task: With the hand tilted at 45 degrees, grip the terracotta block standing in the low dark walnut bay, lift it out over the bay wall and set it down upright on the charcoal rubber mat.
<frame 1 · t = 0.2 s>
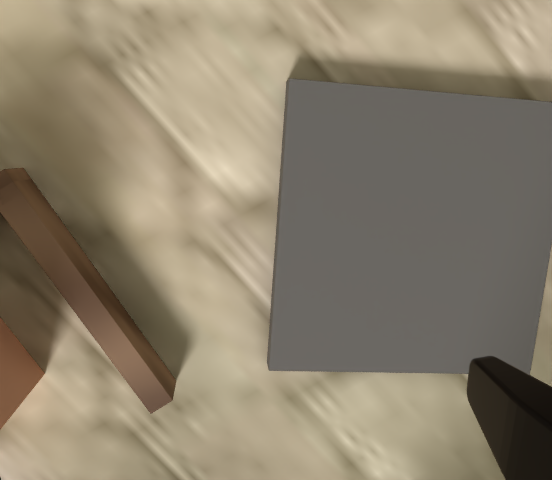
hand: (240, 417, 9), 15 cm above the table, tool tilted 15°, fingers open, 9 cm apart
rubber mat: (412, 235, 25), on the table
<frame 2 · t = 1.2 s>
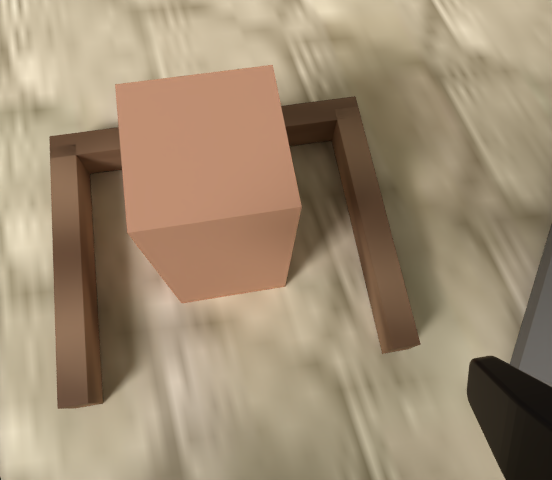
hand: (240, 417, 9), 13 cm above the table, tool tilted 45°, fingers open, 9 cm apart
walnut bay: (226, 245, 24), on the table
terracotta block: (218, 207, 19), in the walnut bay
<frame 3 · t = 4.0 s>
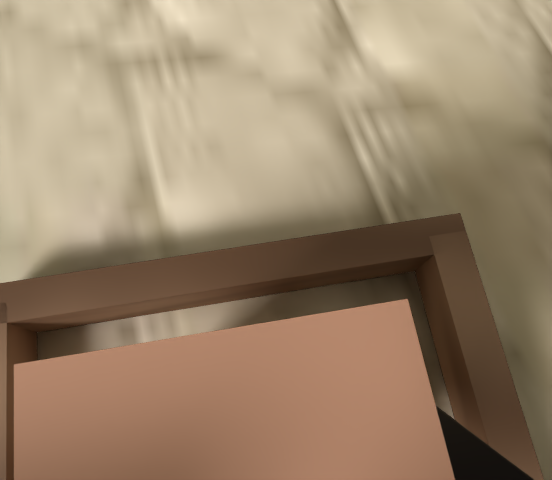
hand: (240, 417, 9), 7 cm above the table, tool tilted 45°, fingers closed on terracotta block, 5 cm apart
walnut bay: (255, 460, 15), on the table
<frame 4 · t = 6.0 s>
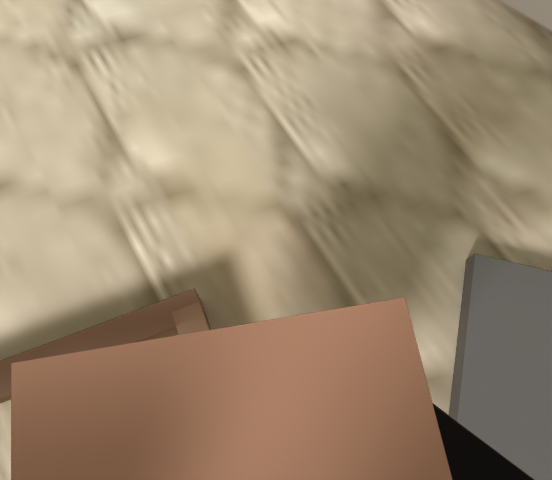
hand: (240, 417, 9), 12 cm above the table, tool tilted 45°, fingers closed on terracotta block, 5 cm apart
when the fingers open (9 cm above the table, at t = 8.5 s): terracotta block drops 1 cm, resting on rubber mat.
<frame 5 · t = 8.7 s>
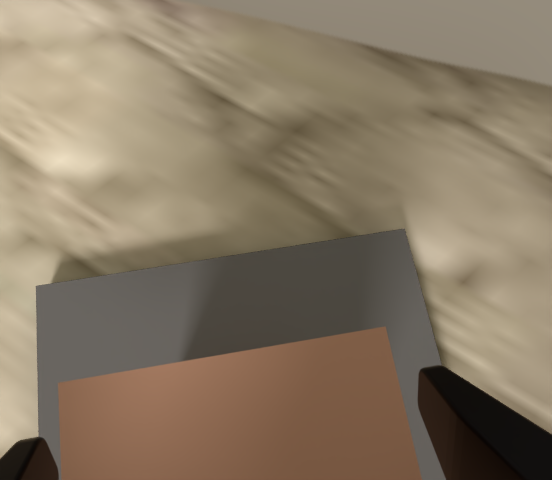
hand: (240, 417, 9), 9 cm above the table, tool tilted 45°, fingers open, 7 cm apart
rubber mat: (255, 452, 17), on the table
terracotta block: (254, 478, 11), on the rubber mat, point 6 cm above the table
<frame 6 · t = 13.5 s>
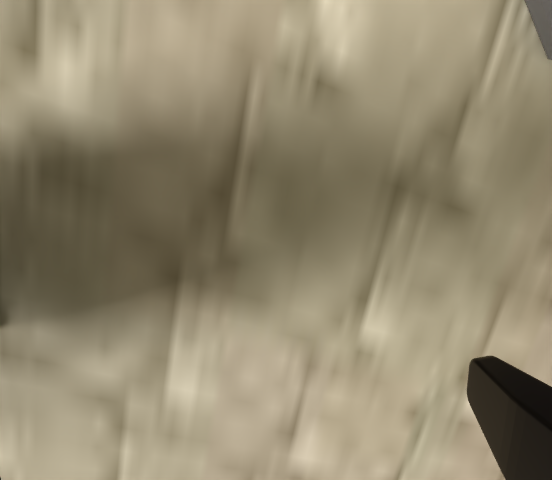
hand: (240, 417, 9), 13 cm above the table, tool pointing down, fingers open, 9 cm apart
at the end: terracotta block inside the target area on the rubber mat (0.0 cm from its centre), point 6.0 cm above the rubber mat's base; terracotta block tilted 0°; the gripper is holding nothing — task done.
